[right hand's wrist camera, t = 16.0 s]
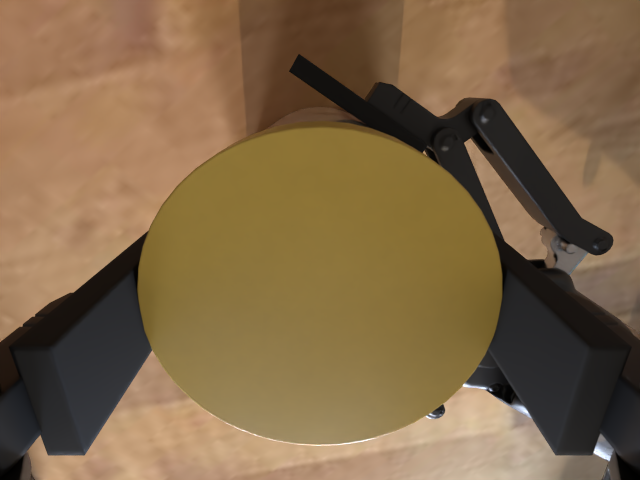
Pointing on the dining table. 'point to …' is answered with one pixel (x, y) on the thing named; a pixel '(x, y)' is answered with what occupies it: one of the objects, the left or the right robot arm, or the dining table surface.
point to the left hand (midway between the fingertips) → (240, 163)
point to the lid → (320, 284)
